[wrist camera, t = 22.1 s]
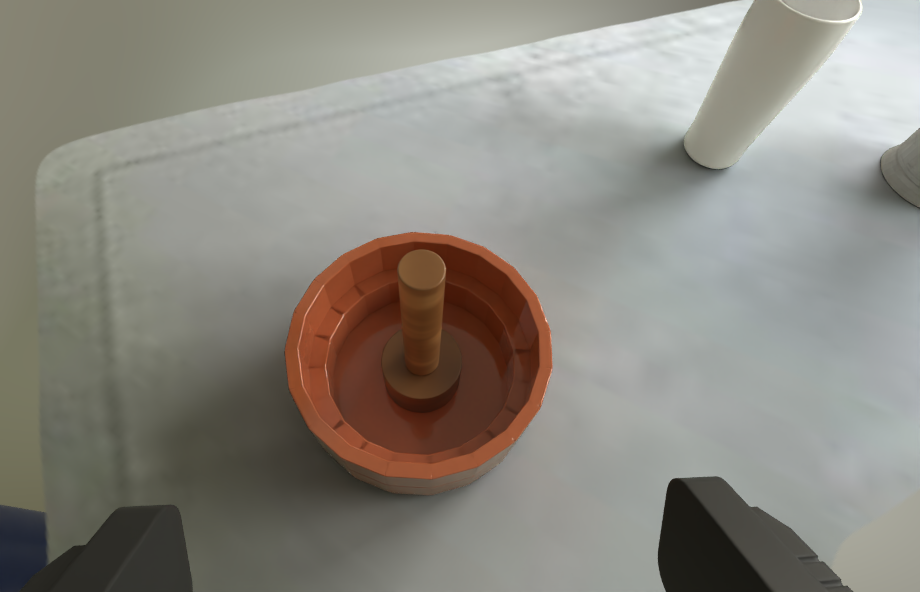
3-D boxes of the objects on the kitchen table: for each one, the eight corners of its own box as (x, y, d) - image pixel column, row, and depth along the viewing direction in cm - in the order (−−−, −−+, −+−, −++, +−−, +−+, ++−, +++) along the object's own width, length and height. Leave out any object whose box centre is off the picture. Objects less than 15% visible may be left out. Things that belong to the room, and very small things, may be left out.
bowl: (377, 548, 30) (366, 542, 25) (270, 344, 36) (242, 300, 31) (576, 412, 35) (605, 380, 30) (454, 251, 41) (459, 198, 35)
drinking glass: (750, 141, 50) (868, -16, 36) (737, 188, 46) (861, 35, 33) (683, 116, 51) (774, -44, 38) (666, 160, 48) (759, 2, 34)
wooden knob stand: (408, 427, 33) (400, 341, 21) (370, 364, 35) (342, 252, 23) (473, 387, 35) (501, 285, 23) (434, 329, 37) (439, 206, 25)
